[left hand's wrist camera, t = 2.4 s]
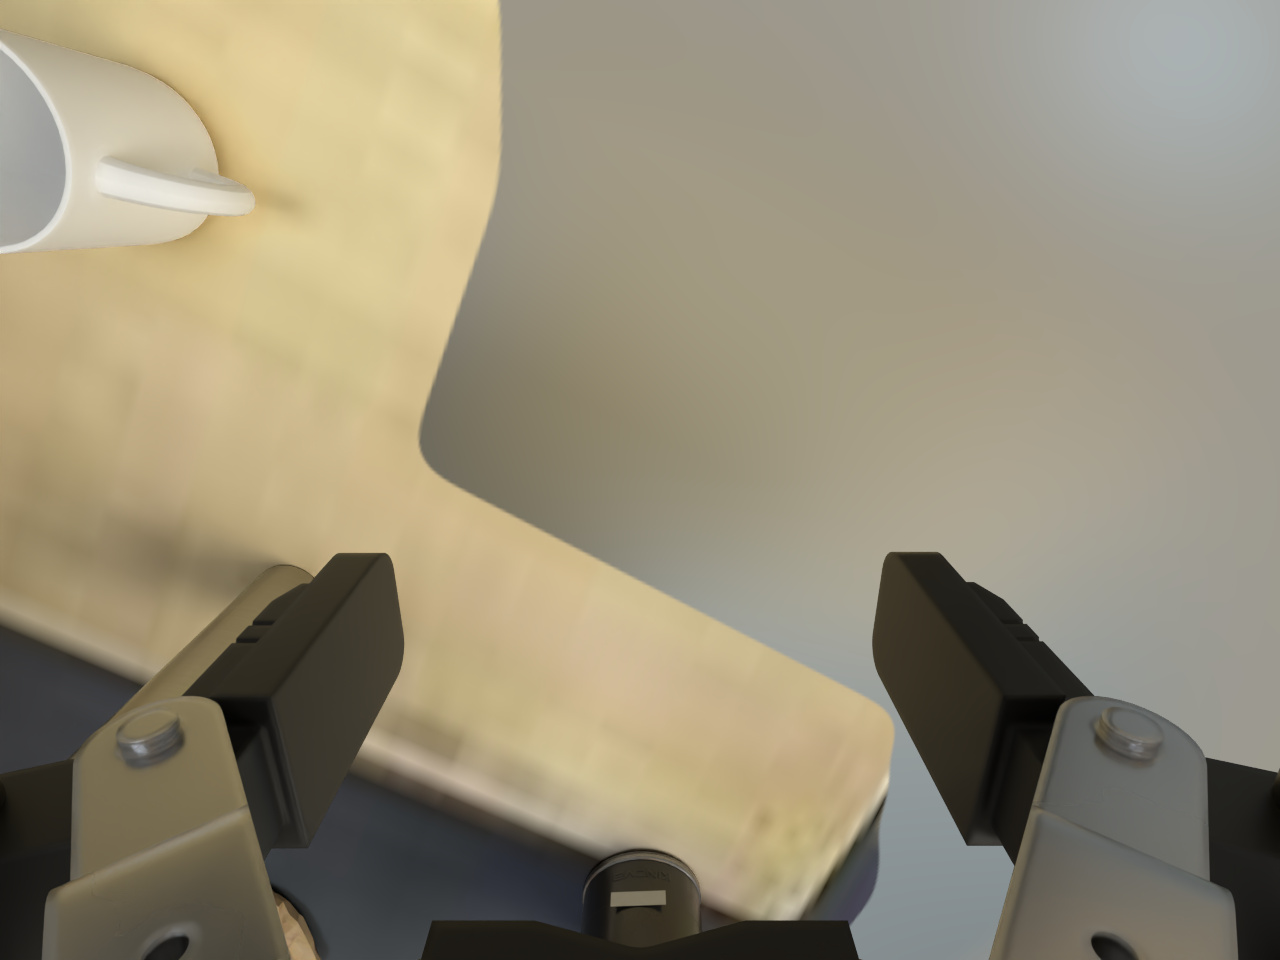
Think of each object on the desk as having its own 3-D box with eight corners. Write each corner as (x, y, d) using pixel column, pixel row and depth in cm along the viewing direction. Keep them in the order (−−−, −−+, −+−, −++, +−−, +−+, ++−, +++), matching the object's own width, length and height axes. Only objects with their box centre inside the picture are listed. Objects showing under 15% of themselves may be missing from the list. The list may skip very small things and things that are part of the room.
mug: (307, 125, 35) (180, 91, 25) (287, 286, 37) (165, 310, 28) (61, 41, 33) (-175, -29, 24) (59, 214, 36) (-152, 214, 26)
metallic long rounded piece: (323, 570, 44) (106, 816, 26) (322, 626, 46) (116, 894, 28) (256, 559, 44) (-11, 800, 26) (257, 616, 45) (5, 880, 27)
